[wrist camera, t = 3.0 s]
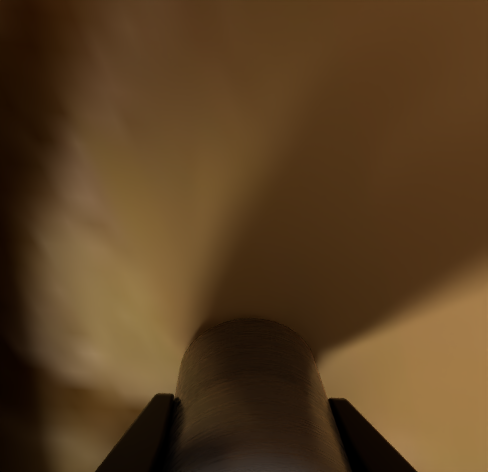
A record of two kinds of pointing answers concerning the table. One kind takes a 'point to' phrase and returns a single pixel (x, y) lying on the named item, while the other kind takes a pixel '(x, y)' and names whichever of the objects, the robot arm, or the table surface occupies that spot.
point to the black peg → (252, 405)
